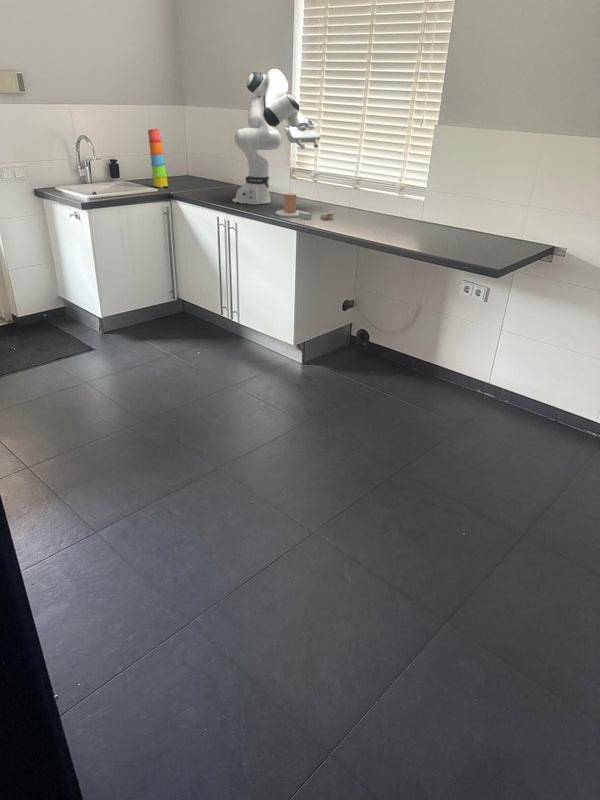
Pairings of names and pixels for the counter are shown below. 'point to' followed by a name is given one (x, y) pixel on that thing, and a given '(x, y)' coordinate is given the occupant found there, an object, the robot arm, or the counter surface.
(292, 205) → the orange cylinder
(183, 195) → the counter surface
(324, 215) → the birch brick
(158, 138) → the stacking cups
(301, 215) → the grey brick
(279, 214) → the cream plate
